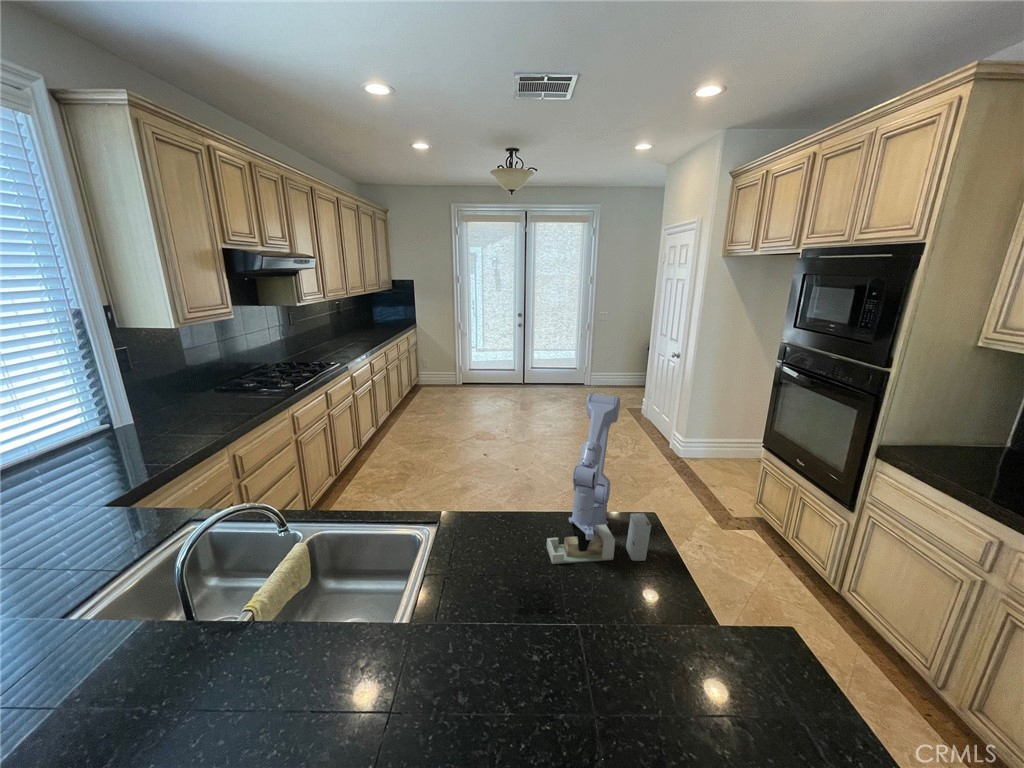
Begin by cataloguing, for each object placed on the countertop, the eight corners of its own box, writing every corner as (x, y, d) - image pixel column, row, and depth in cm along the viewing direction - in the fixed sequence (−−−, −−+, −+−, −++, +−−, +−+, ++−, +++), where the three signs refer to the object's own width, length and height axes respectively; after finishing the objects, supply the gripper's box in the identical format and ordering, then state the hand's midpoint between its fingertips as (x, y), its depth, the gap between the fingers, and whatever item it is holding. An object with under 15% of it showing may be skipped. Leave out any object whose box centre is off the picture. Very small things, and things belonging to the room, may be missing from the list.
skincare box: (625, 547, 122) (629, 512, 119) (639, 547, 122) (644, 512, 119) (632, 561, 116) (636, 524, 113) (647, 561, 116) (651, 524, 113)
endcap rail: (604, 543, 123) (605, 524, 122) (613, 559, 116) (615, 539, 114) (546, 546, 121) (547, 527, 119) (552, 564, 114) (553, 543, 112)
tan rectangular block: (602, 546, 121) (603, 534, 120) (606, 553, 118) (607, 542, 117) (563, 548, 120) (564, 537, 119) (567, 556, 116) (567, 544, 115)
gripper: (563, 492, 121) (561, 532, 124) (577, 520, 107) (574, 563, 111) (586, 491, 122) (583, 530, 125) (602, 518, 108) (598, 561, 111)
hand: (580, 546), depth 118 cm, fingers closed on tan rectangular block, 3 cm apart
